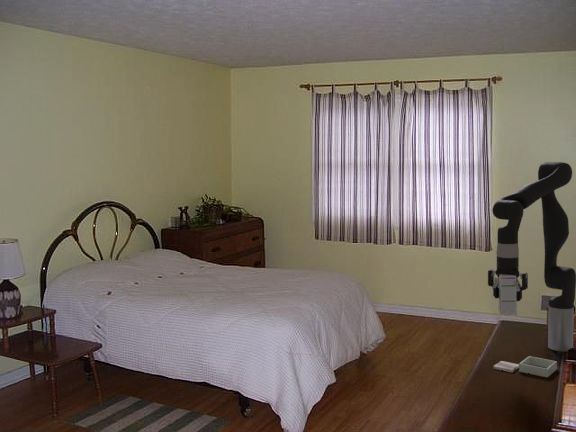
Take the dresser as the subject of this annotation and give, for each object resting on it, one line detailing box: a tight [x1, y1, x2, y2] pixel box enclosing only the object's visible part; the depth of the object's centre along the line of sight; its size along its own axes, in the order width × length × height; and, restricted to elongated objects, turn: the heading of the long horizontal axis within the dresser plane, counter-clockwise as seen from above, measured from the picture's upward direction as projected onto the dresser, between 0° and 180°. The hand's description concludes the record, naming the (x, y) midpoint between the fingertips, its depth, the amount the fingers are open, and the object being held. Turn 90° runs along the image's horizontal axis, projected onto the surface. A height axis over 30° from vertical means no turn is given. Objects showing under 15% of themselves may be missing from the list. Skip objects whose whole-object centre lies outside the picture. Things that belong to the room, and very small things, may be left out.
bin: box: [518, 355, 558, 378], centre depth 222 cm, size 10×10×3 cm
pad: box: [493, 360, 519, 373], centre depth 226 cm, size 7×7×1 cm
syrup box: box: [498, 274, 518, 316], centre depth 223 cm, size 6×6×14 cm
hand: (507, 299), depth 223 cm, fingers closed on syrup box, 7 cm apart
